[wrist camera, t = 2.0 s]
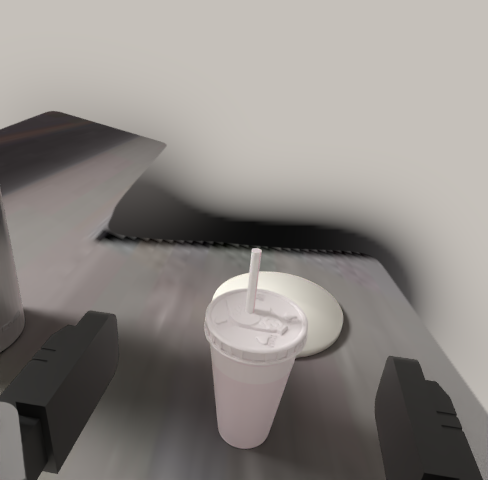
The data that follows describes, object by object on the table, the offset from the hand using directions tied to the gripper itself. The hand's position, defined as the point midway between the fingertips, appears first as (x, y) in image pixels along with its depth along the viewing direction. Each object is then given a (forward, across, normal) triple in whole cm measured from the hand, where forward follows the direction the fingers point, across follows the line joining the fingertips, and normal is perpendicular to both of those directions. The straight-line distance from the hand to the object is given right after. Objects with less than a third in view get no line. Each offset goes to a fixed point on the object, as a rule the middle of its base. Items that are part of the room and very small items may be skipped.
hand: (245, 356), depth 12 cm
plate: (+25, -1, +16) cm, 30 cm away
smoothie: (+12, 0, +17) cm, 20 cm away
